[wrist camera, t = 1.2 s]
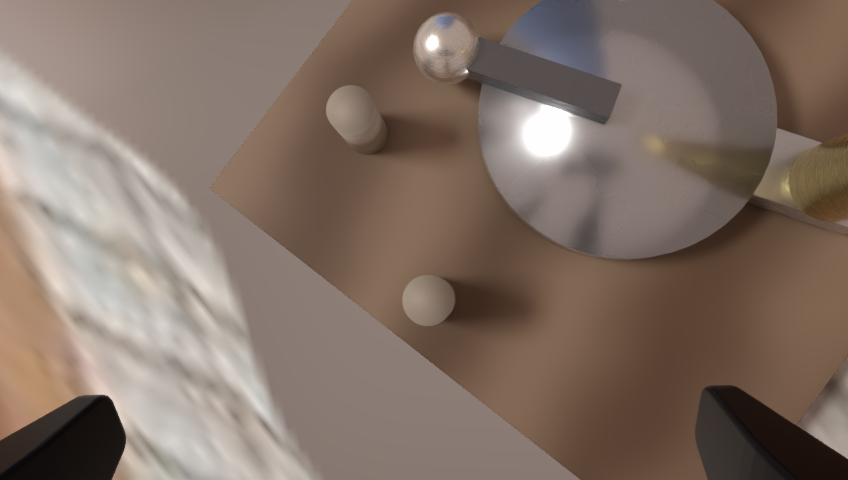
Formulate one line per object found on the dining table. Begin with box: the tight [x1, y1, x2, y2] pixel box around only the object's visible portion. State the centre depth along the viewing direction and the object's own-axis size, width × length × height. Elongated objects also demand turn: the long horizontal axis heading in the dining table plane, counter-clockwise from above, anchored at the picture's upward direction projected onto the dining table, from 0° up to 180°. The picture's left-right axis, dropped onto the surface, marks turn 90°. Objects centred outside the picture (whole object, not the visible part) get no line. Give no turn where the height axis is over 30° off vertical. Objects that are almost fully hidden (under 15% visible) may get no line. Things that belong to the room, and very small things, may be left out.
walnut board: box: [210, 0, 848, 480], centre depth 19 cm, size 22×22×4 cm
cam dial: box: [413, 0, 848, 260], centre depth 14 cm, size 16×10×12 cm, turn 69°
